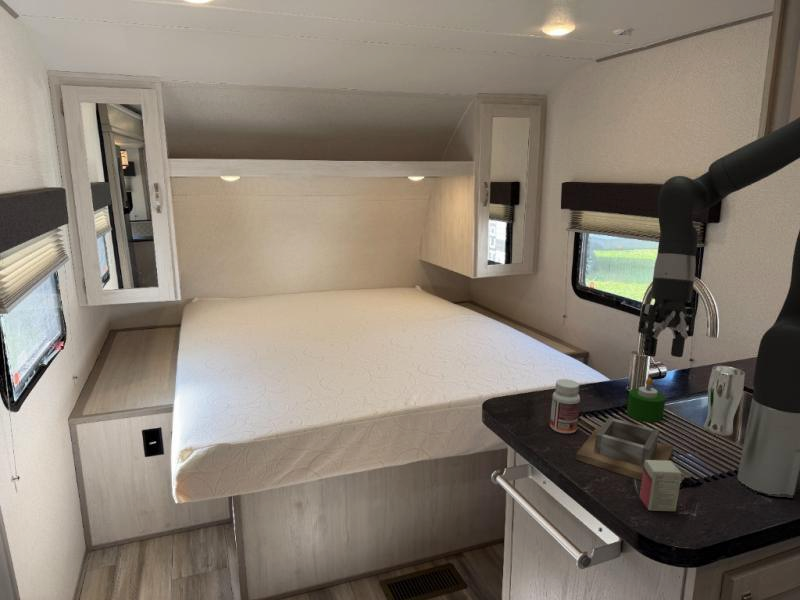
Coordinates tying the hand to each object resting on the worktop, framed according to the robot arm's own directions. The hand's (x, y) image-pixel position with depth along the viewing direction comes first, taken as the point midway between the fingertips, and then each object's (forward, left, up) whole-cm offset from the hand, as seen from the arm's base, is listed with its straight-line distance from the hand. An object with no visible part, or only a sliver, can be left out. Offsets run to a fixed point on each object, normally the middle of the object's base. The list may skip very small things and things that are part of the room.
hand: (663, 356), depth 115 cm
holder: (+4, +4, -22) cm, 23 cm away
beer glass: (-11, -23, -22) cm, 34 cm away
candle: (+5, -21, -23) cm, 31 cm away
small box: (-5, +19, -23) cm, 30 cm away
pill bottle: (+19, -1, -23) cm, 30 cm away
